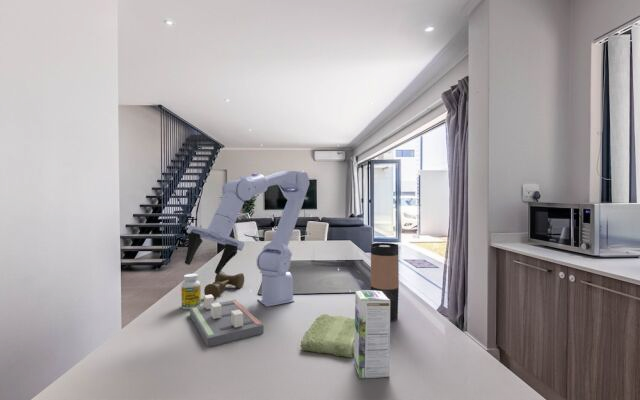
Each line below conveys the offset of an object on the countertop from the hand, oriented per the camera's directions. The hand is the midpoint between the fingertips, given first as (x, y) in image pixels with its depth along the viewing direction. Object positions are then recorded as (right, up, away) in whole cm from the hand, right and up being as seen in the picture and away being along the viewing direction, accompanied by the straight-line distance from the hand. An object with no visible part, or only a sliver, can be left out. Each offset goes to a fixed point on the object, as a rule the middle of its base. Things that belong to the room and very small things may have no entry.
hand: (201, 268), depth 75 cm
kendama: (-5, -16, +34) cm, 38 cm away
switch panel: (+4, -15, +5) cm, 17 cm away
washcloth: (+33, -16, -3) cm, 37 cm away
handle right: (-2, -13, +11) cm, 17 cm away
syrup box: (+39, -16, -17) cm, 45 cm away
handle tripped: (+9, -13, -1) cm, 16 cm away
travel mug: (+47, -16, +10) cm, 51 cm away
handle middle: (+2, -13, +4) cm, 14 cm away
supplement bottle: (-10, -16, +17) cm, 25 cm away
